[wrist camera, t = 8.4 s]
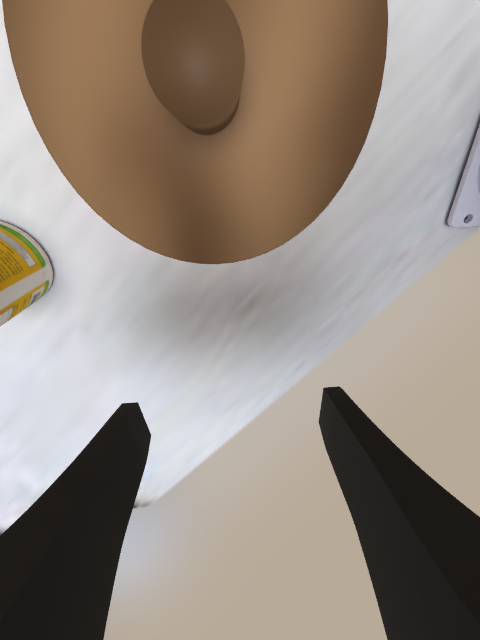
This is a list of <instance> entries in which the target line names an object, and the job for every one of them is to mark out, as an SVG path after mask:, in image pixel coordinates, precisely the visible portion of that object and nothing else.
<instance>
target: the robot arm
mask: <svg viewBox="0 0 480 640" xmlns="http://www.w3.org/2000/svg"><path fill="white" fill-rule="evenodd" d="M467 215H468V218H467V219H466V220H465V221H464V218H465V217H466V216H467ZM447 223H448V225H449V226H450V227H454V228H462V227H474V226H480V125H479V128H478V131H477V134H476V137H475V140H474V143H473V146H472V149H471V152H470V155H469V158H468V161H467V164H466V167H465V170H464V173H463V176H462V179H461V182H460V185H459V188H458V191H457V194H456V196H455V199H454V202H453V205H452V208H451V211H450V214H449V217H448V222H447ZM319 424H320V428H321V432H322V436H323V440H324V443H325V447H326V450H327V453H328V455H329V458H330V461H331V463H332V466H333V469H334V471H335V474H336V476H337V479H338V482H339V484H340V487H341V489H342V492H343V495H344V497H345V500H346V502H347V505H348V507H349V510H350V512H351V515H352V518H353V521H354V524H355V527H356V530H357V533H358V536H359V540H360V543H361V546H362V550H363V553H364V557H365V560H366V563H367V567H368V570H369V574H370V577H371V581H372V584H373V588H374V591H375V595H376V598H377V602H378V606H379V609H380V613H381V617H382V621H383V624H384V628H385V632H386V635H387V639H388V640H480V517H479V516H478V515H476V514H475V513H474V512H472V511H471V510H470V509H469V508H467V507H466V506H465V505H464V504H462V503H461V502H460V501H459V500H457V499H456V498H455V497H454V496H453V495H451V494H450V493H449V492H447V491H446V490H445V489H444V488H443V487H442V486H440V485H439V484H438V483H437V482H436V481H434V480H433V479H432V478H431V477H430V476H429V475H428V474H426V473H425V472H424V471H423V470H422V469H421V468H420V467H419V466H417V465H416V464H415V463H414V462H413V461H412V460H411V459H410V458H409V457H408V456H407V455H405V454H404V453H403V452H402V451H401V450H400V449H399V448H398V447H397V446H396V445H395V444H394V443H393V442H392V441H391V440H390V439H389V438H388V437H387V436H386V435H385V434H384V433H383V432H382V431H381V430H380V429H379V428H378V427H377V426H376V425H375V424H374V423H373V422H372V421H371V420H370V419H369V418H368V417H367V416H366V415H365V413H363V411H362V410H361V409H360V408H359V407H358V406H357V405H356V404H355V403H354V402H353V400H351V398H350V397H349V396H348V395H347V394H346V393H345V392H344V390H343V389H342V388H340V387H328V388H324V389H323V396H322V403H321V410H320V417H319ZM150 439H151V434H150V431H149V429H148V426H147V424H146V421H145V419H144V417H143V414H142V412H141V409H140V407H139V404H138V402H137V403H124V404H121V405H120V407H119V408H118V409H117V410H116V411H115V413H114V414H113V415H112V416H111V417H110V419H109V420H108V421H107V422H106V423H105V425H104V426H103V427H102V428H101V429H100V431H99V432H98V433H97V434H96V435H95V437H94V438H93V439H92V440H91V441H90V442H89V444H88V445H87V446H86V447H85V448H84V449H83V451H82V452H81V453H80V454H79V455H78V456H77V458H76V459H75V460H74V461H73V462H72V463H71V464H70V465H69V467H68V468H67V469H66V470H65V471H64V472H63V473H62V474H61V475H60V476H59V477H58V478H57V480H56V481H55V482H54V483H53V484H52V485H51V486H50V487H49V488H48V489H47V490H46V491H45V492H44V493H43V494H42V496H41V497H40V498H39V499H38V500H37V501H36V502H35V503H34V504H33V505H32V506H31V507H30V508H29V509H28V510H27V511H26V512H25V513H24V514H23V515H22V516H21V517H20V518H18V519H17V520H16V521H15V522H14V523H13V524H12V525H11V526H10V527H9V528H8V529H7V530H6V531H5V532H4V533H3V534H2V535H1V536H0V640H103V638H104V632H105V627H106V621H107V616H108V611H109V606H110V601H111V595H112V590H113V585H114V581H115V576H116V571H117V567H118V562H119V557H120V553H121V548H122V544H123V540H124V536H125V533H126V529H127V526H128V522H129V519H130V516H131V512H132V509H133V506H134V502H135V499H136V496H137V492H138V489H139V486H140V482H141V479H142V476H143V472H144V469H145V465H146V461H147V456H148V451H149V445H150Z"/></svg>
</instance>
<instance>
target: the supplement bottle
mask: <svg viewBox="0 0 480 640" xmlns="http://www.w3.org/2000/svg"><path fill="white" fill-rule="evenodd" d="M52 280H53V271H52V266H51V264H50V261H49V259H48V257H47V255H46V254H45V252H44V251H43V249H42V248H41V247H40V246H39V244H38V243H37V242H36V241H35V240H34V239H33V238H31V237H30V236H29V235H28V234H26V233H25V232H24V231H22V230H20V229H19V228H17V227H15V226H13V225H10V224H8V223H5V222H1V221H0V326H1V325H3V324H4V323H6V322H7V321H9V320H10V319H11V318H13V317H14V316H16V315H17V314H18V313H20V312H21V311H23V310H24V309H25V308H27V307H28V306H30V305H31V304H32V303H34V302H35V301H37V300H38V299H39V298H41V297H42V296H43V295H44V294H45V293H46V292H47V291H48V290H49V288H50V287H51V284H52Z"/></svg>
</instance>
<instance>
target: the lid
mask: <svg viewBox="0 0 480 640" xmlns="http://www.w3.org/2000/svg"><path fill="white" fill-rule="evenodd" d="M2 3H3V12H4V22H5V28H6V33H7V38H8V43H9V48H10V53H11V58H12V62H13V65H14V69H15V72H16V75H17V79H18V82H19V85H20V89H21V92H22V95H23V97H24V100H25V102H26V105H27V107H28V110H29V112H30V115H31V117H32V120H33V122H34V124H35V126H36V128H37V130H38V132H39V134H40V136H41V138H42V140H43V142H44V144H45V146H46V148H47V150H48V151H49V153H50V154H51V156H52V158H53V159H54V161H55V162H56V164H57V165H58V167H59V169H60V170H61V172H62V173H63V175H64V176H65V177H66V179H67V180H68V181H69V182H70V184H71V185H72V186H73V188H74V189H75V190H76V192H77V193H78V194H79V195H80V196H81V197H82V198H83V199H84V201H85V202H86V203H87V204H88V205H89V206H90V207H91V208H92V209H93V210H94V211H95V212H96V213H97V214H98V215H99V216H100V217H102V218H103V219H104V220H105V221H106V222H107V223H109V224H110V225H111V226H112V227H113V228H115V229H116V230H118V231H119V232H120V233H122V234H123V235H125V236H126V237H128V238H129V239H131V240H132V241H134V242H136V243H138V244H140V245H141V246H143V247H145V248H147V249H149V250H152V251H154V252H156V253H159V254H161V255H164V256H167V257H170V258H174V259H177V260H181V261H186V262H193V263H199V264H222V263H233V262H238V261H242V260H246V259H251V258H253V257H256V256H259V255H262V254H264V253H267V252H269V251H271V250H273V249H275V248H277V247H279V246H281V245H283V244H284V243H286V242H287V241H289V240H290V239H292V238H293V237H295V236H296V235H298V234H299V233H300V232H301V231H302V230H304V229H305V228H306V227H307V226H308V225H309V224H311V223H312V222H313V221H314V220H315V219H316V218H317V217H318V216H319V214H320V213H321V212H322V211H323V210H324V209H325V208H326V207H327V206H328V205H329V203H330V202H331V201H332V199H333V198H334V197H335V195H336V194H337V192H338V191H339V190H340V188H341V187H342V185H343V184H344V182H345V180H346V179H347V177H348V175H349V174H350V172H351V170H352V168H353V167H354V165H355V163H356V160H357V158H358V156H359V154H360V152H361V150H362V147H363V145H364V143H365V140H366V138H367V135H368V132H369V129H370V126H371V123H372V121H373V118H374V114H375V110H376V106H377V102H378V98H379V94H380V90H381V85H382V79H383V72H384V65H385V59H386V47H387V30H388V6H387V0H2Z"/></svg>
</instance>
